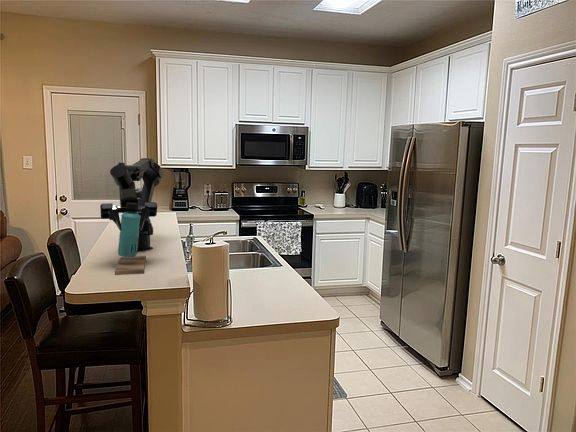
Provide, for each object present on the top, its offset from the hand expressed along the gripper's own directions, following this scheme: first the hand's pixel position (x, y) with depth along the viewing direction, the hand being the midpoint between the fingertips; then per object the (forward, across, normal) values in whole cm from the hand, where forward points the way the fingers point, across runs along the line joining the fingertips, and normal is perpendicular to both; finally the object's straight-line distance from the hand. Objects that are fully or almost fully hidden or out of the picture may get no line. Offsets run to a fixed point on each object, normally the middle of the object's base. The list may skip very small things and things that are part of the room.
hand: (131, 230), depth 145 cm
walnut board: (+9, 0, +10) cm, 13 cm away
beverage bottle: (+7, -2, +8) cm, 11 cm away
